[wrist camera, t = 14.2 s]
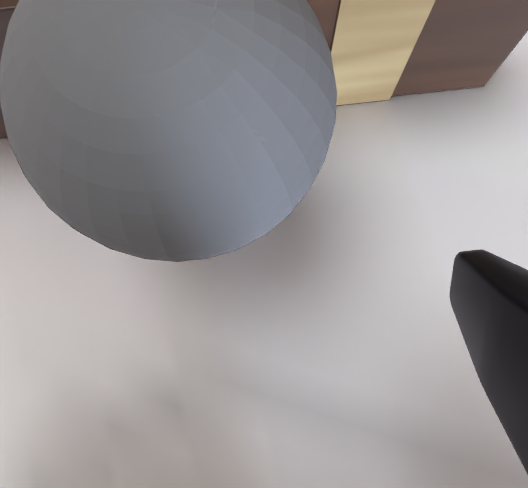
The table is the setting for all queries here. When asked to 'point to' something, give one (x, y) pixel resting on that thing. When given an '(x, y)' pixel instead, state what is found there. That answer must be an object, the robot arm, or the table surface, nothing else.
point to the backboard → (402, 44)
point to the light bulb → (168, 117)
